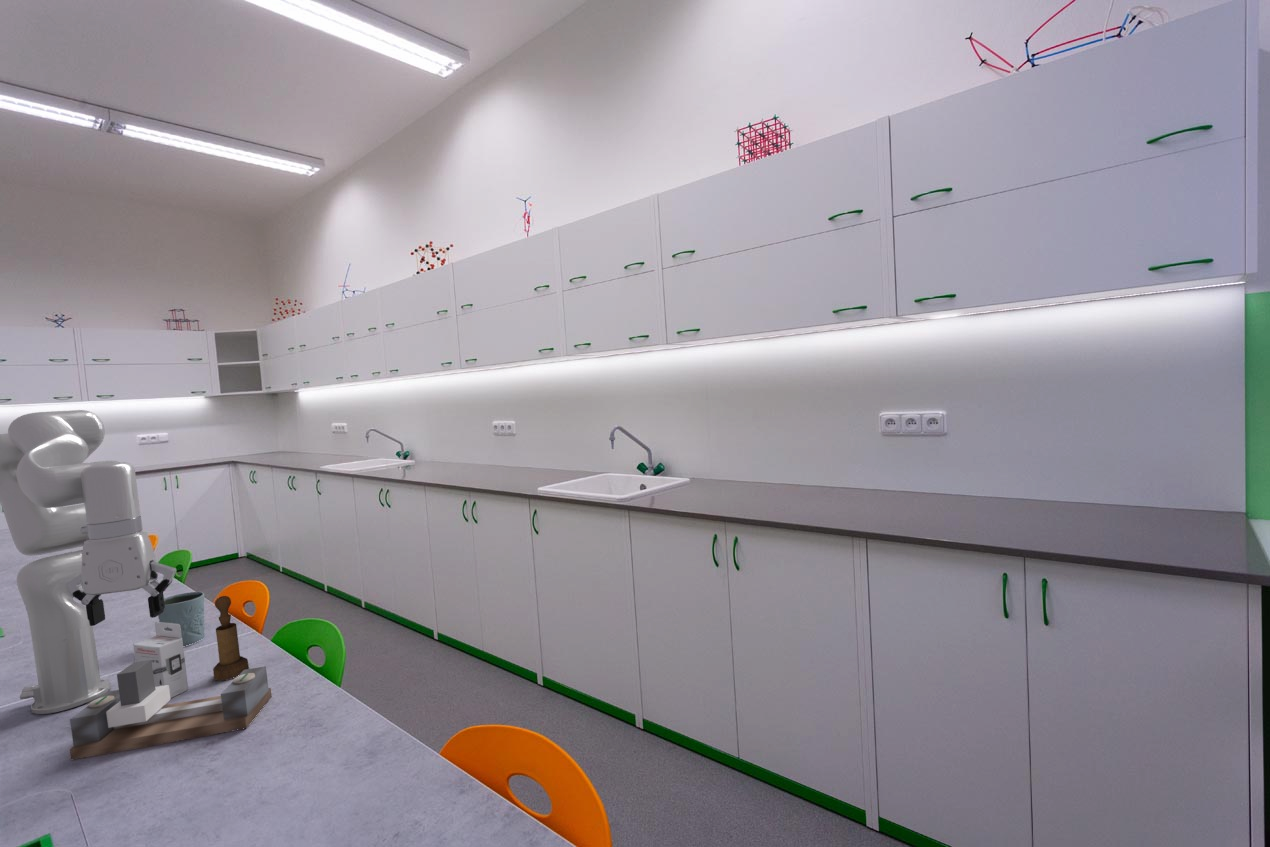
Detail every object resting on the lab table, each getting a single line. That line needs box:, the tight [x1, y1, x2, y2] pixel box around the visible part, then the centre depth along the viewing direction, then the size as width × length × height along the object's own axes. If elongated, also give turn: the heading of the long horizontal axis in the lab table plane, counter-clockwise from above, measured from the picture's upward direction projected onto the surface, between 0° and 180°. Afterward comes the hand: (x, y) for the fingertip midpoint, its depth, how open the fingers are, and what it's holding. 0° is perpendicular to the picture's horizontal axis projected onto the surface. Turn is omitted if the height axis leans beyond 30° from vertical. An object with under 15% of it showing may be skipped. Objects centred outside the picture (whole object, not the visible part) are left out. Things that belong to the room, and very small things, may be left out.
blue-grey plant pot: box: [157, 591, 205, 646], centre depth 156 cm, size 10×10×12 cm
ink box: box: [132, 621, 189, 699], centre depth 127 cm, size 9×5×15 cm, turn 71°
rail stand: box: [69, 666, 273, 760], centre depth 113 cm, size 28×12×8 cm, turn 102°
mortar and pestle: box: [212, 595, 250, 682], centre depth 134 cm, size 7×6×18 cm
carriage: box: [106, 660, 172, 728], centre depth 111 cm, size 6×8×9 cm
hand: (127, 619), depth 110 cm, fingers open, 9 cm apart
